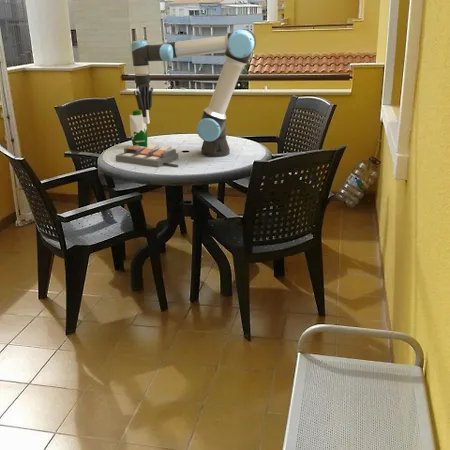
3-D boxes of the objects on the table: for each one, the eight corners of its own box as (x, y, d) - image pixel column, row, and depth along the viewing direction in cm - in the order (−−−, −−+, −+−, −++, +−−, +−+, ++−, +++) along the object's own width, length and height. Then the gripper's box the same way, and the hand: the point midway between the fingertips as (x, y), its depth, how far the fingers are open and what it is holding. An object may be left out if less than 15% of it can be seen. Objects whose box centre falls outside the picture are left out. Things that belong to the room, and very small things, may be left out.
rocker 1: (146, 149, 279) (146, 147, 279) (134, 149, 271) (134, 147, 270) (140, 148, 281) (140, 146, 281) (127, 148, 273) (127, 146, 272)
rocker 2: (171, 148, 271) (170, 146, 270) (160, 156, 264) (159, 154, 263) (164, 147, 273) (164, 145, 272) (153, 155, 266) (152, 153, 265)
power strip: (192, 160, 268) (191, 150, 266) (172, 169, 254) (172, 158, 252) (137, 153, 285) (136, 144, 283) (116, 161, 271) (115, 151, 270)
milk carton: (146, 145, 303) (143, 109, 295) (149, 148, 295) (146, 112, 287) (131, 146, 301) (127, 110, 293) (133, 150, 293) (129, 113, 285)
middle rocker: (158, 146, 274) (158, 144, 274) (147, 155, 268) (146, 153, 267) (152, 145, 277) (151, 143, 276) (140, 154, 270) (140, 152, 269)
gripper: (143, 72, 264) (148, 120, 273) (127, 76, 253) (132, 125, 262) (156, 73, 260) (160, 121, 269) (139, 76, 250) (144, 126, 259)
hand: (146, 123), depth 266 cm, fingers closed
